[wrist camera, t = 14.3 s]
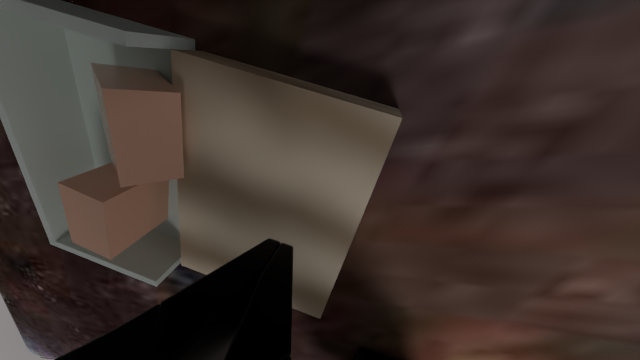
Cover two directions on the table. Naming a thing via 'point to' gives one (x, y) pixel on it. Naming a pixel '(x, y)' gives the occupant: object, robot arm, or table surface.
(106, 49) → the tray
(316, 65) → the table surface
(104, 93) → the tile
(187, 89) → the beige flat panel
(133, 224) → the tile
